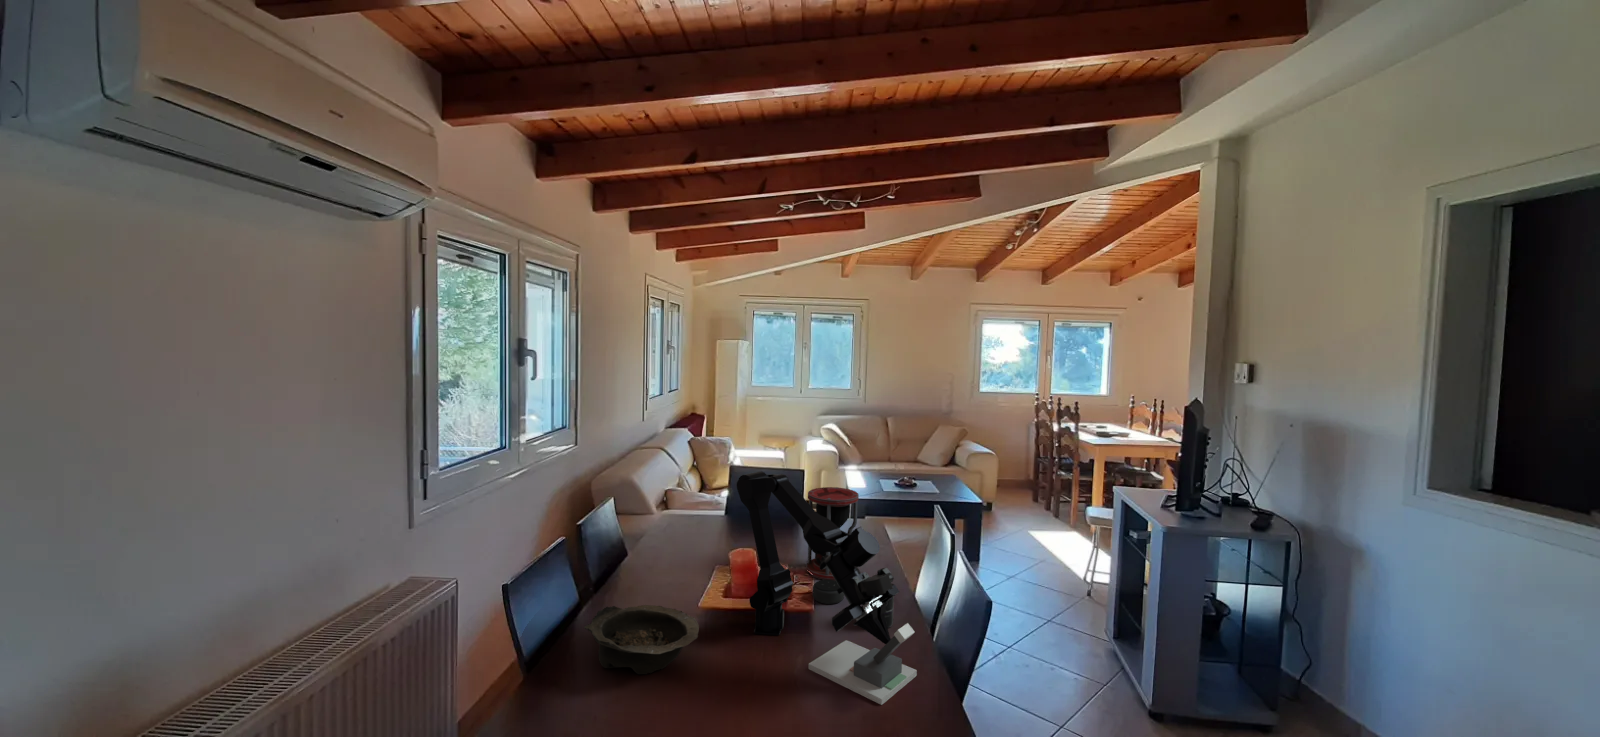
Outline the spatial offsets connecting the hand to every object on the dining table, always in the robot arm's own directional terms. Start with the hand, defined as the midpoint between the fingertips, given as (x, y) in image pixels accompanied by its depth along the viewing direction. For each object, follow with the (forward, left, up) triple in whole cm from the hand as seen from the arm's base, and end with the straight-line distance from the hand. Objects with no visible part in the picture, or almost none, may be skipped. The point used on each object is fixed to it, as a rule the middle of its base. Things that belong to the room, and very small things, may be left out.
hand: (888, 643), depth 123 cm
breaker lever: (-2, +1, -4) cm, 4 cm away
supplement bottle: (-1, +27, -9) cm, 29 cm away
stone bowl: (-55, +4, -9) cm, 56 cm away
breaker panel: (-5, +4, -9) cm, 11 cm away
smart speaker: (-15, +40, -9) cm, 44 cm away
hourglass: (-15, +60, -9) cm, 63 cm away
